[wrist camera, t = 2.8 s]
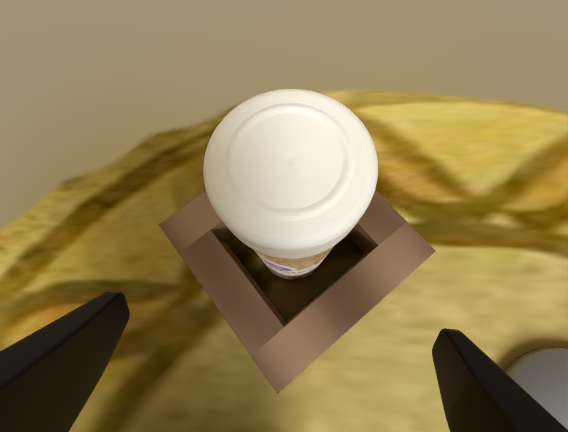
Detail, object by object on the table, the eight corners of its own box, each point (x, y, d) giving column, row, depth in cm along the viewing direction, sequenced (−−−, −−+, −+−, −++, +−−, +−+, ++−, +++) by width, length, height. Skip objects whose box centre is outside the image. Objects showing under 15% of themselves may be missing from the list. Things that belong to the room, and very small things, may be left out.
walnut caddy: (280, 375, 18) (277, 393, 14) (181, 236, 20) (159, 224, 17) (411, 258, 19) (435, 251, 16) (303, 144, 22) (304, 117, 19)
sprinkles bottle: (255, 275, 19) (177, 233, 7) (266, 212, 21) (218, 72, 8) (322, 285, 19) (377, 262, 6) (329, 220, 20) (388, 89, 7)
